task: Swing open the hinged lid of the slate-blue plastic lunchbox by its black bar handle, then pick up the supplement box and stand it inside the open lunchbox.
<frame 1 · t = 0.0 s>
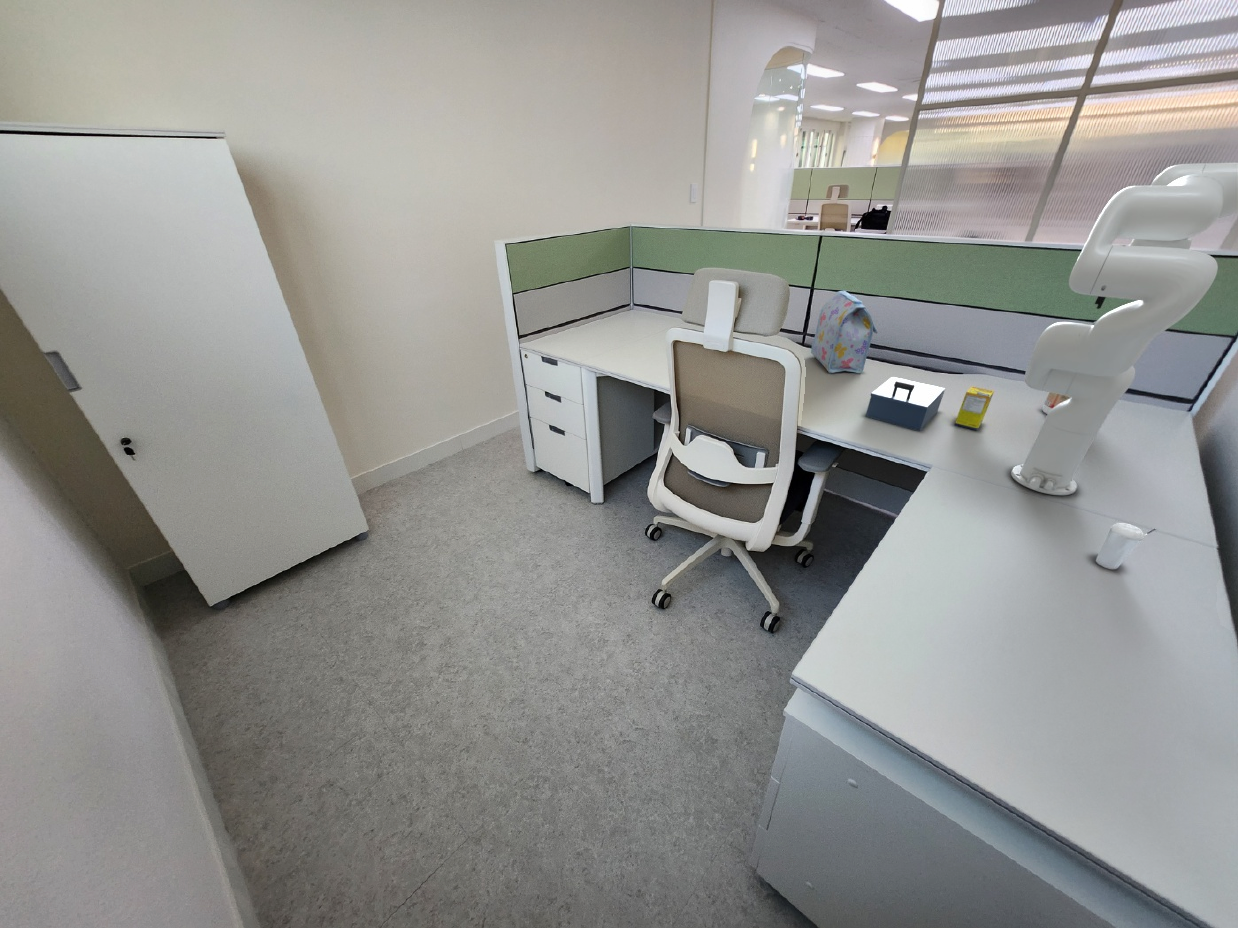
hand: (1125, 310, 113), 37 cm above the table, tool pointing down, fingers open, 9 cm apart
supplement box: (967, 425, 145), on the table
lunchbox lid: (910, 385, 146), point 10 cm above the table, hinge at 0.0°
lunchbox: (901, 414, 152), on the table
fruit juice: (1059, 414, 149), on the table
milkshake: (1108, 565, 93), on the table
lunch bag: (837, 365, 192), on the table
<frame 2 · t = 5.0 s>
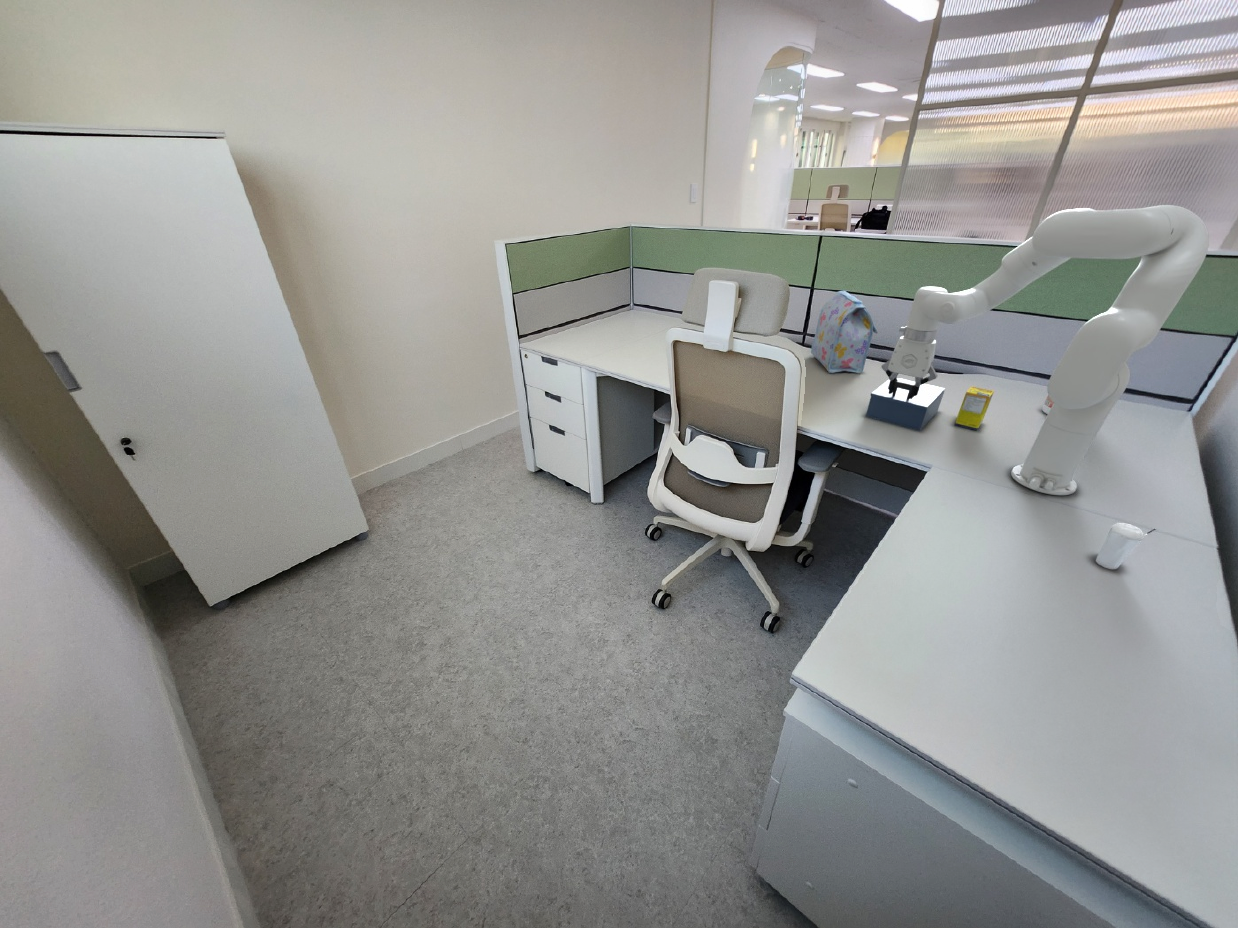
hand: (901, 394, 143), 9 cm above the table, tool pointing down, fingers closed on lunchbox lid, 5 cm apart
lunchbox lid: (910, 385, 146), point 10 cm above the table, hinge at 0.0°, touching gripper
everything else where it was.
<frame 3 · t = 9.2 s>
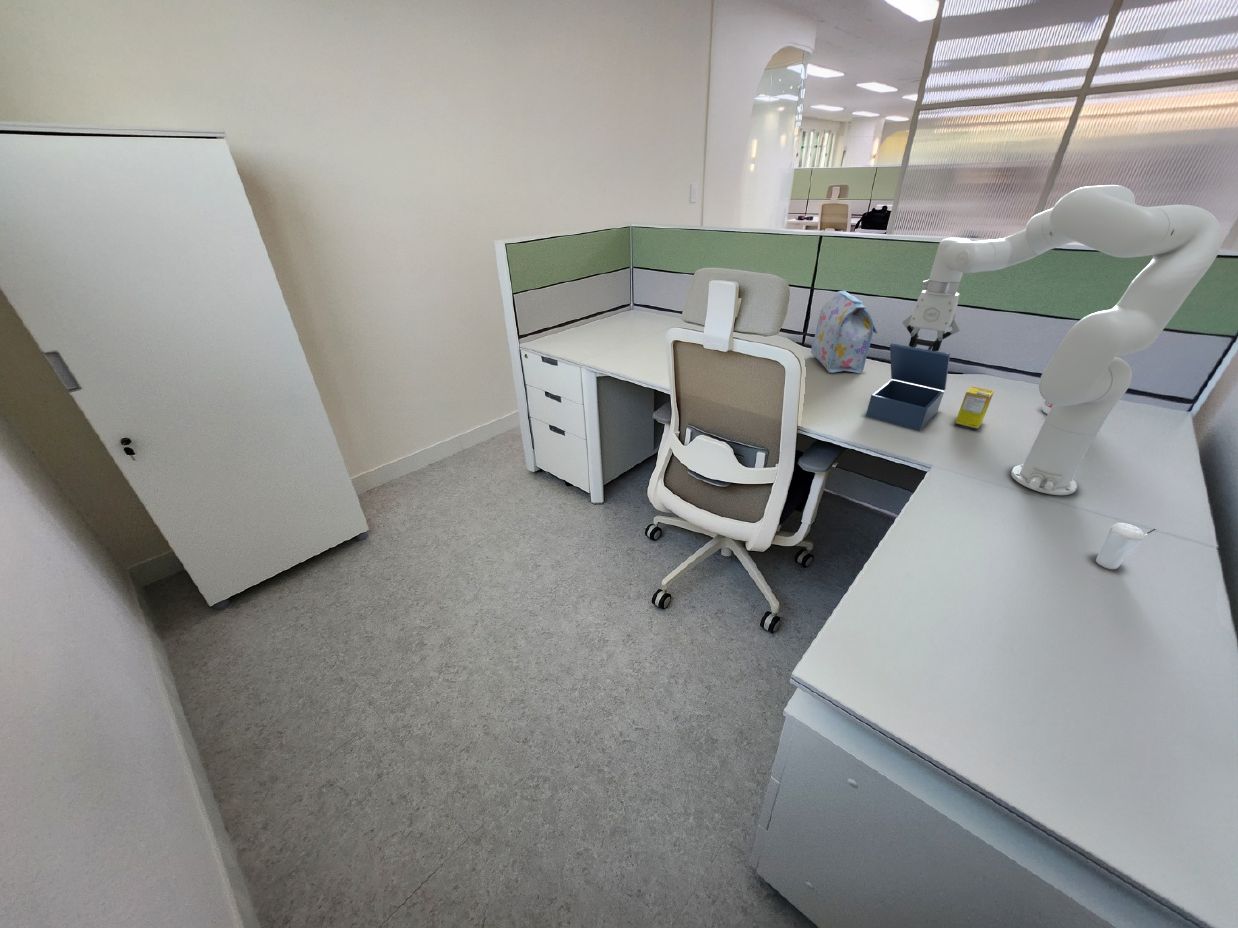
hand: (922, 350, 143), 20 cm above the table, tool pointing down, fingers closed on lunchbox lid, 5 cm apart
lunchbox lid: (921, 361, 146), point 16 cm above the table, hinge at 50.0°, touching gripper
everything else where it was.
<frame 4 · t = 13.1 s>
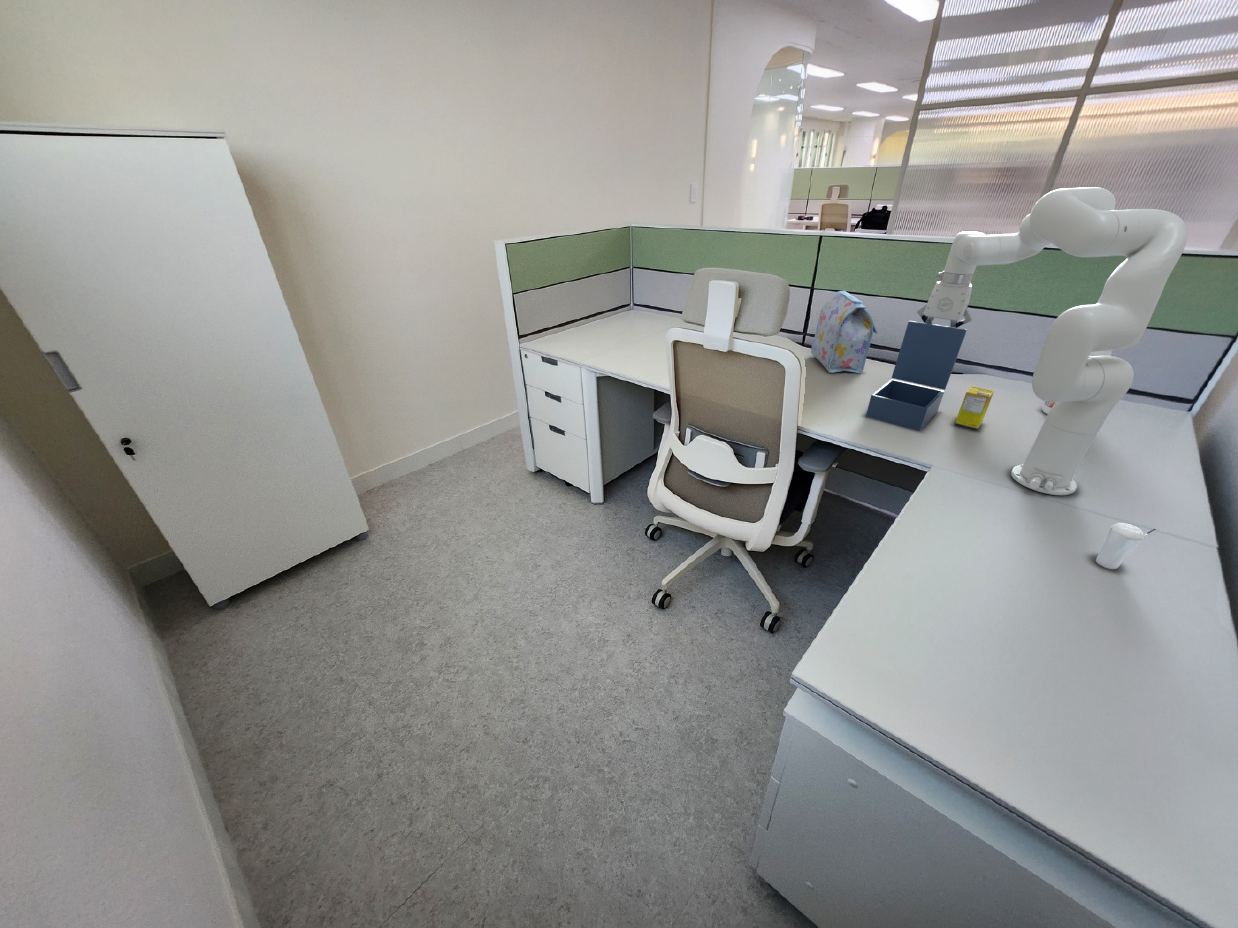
hand: (936, 338, 150), 21 cm above the table, tool pointing down, fingers closed on lunchbox lid, 5 cm apart
lunchbox lid: (929, 353, 150), point 17 cm above the table, hinge at 94.0°, touching gripper
everything else where it was.
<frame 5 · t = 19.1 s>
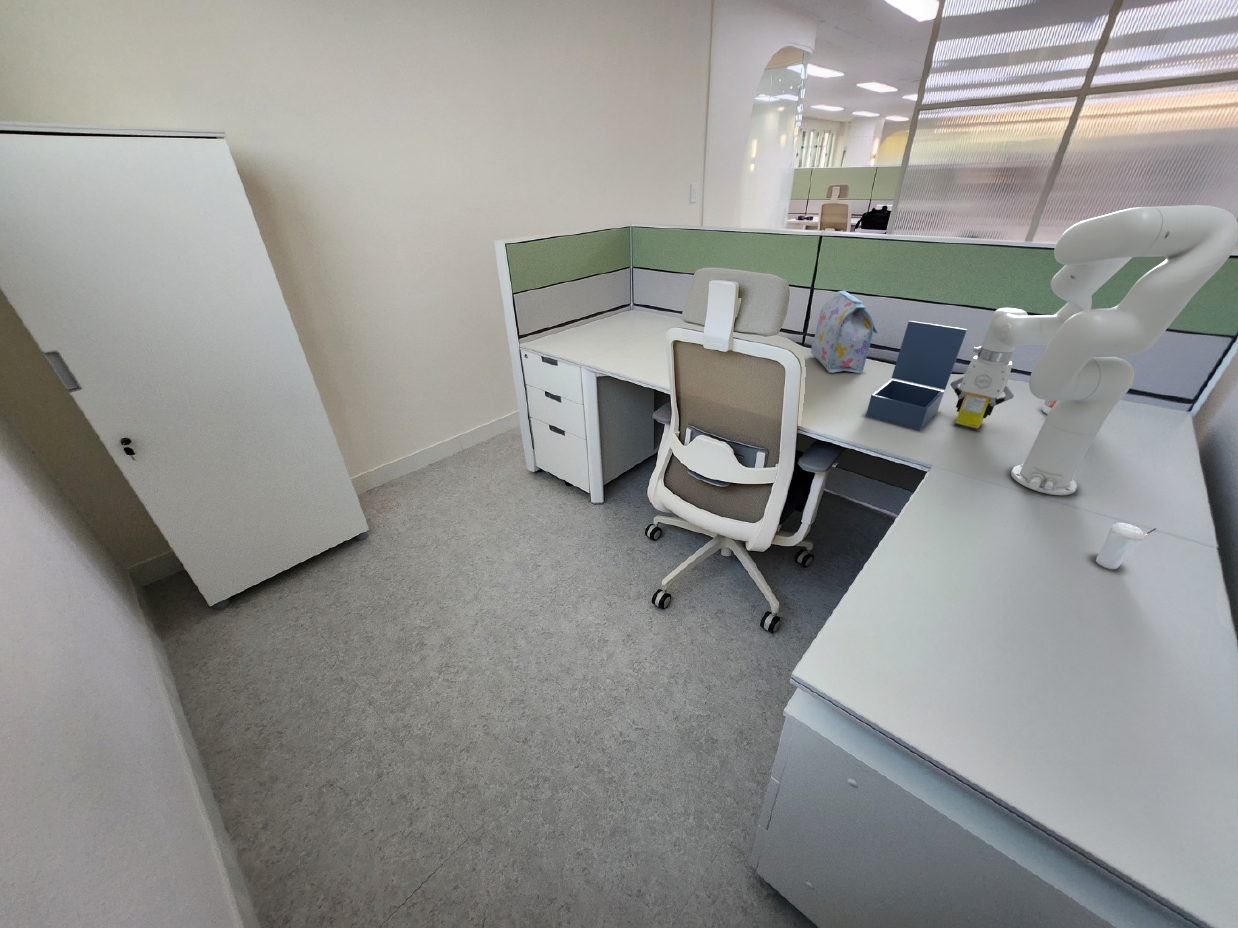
hand: (972, 413, 143), 4 cm above the table, tool pointing down, fingers closed on supplement box, 6 cm apart
supplement box: (967, 425, 145), on the table, touching gripper
lunchbox lid: (929, 353, 150), point 17 cm above the table, hinge at 94.1°
everything else where it was.
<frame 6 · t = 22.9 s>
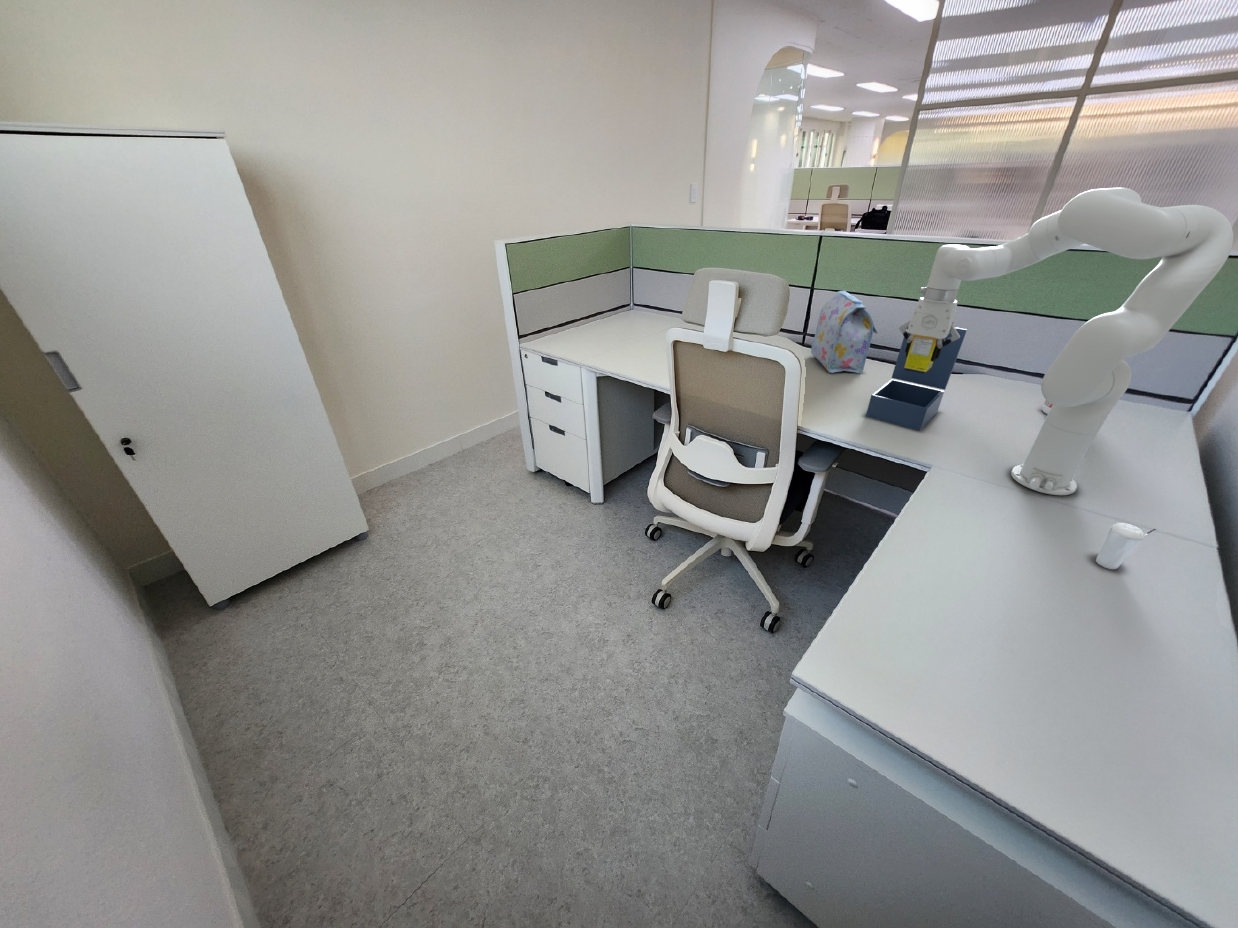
hand: (920, 357, 141), 19 cm above the table, tool pointing down, fingers closed on supplement box, 6 cm apart
supplement box: (916, 370, 143), point 15 cm above the table, touching gripper
everything else where it was.
when the fingers open (5 cm above the table, at t = 26.7 s): supplement box stays where it is, resting on lunchbox.
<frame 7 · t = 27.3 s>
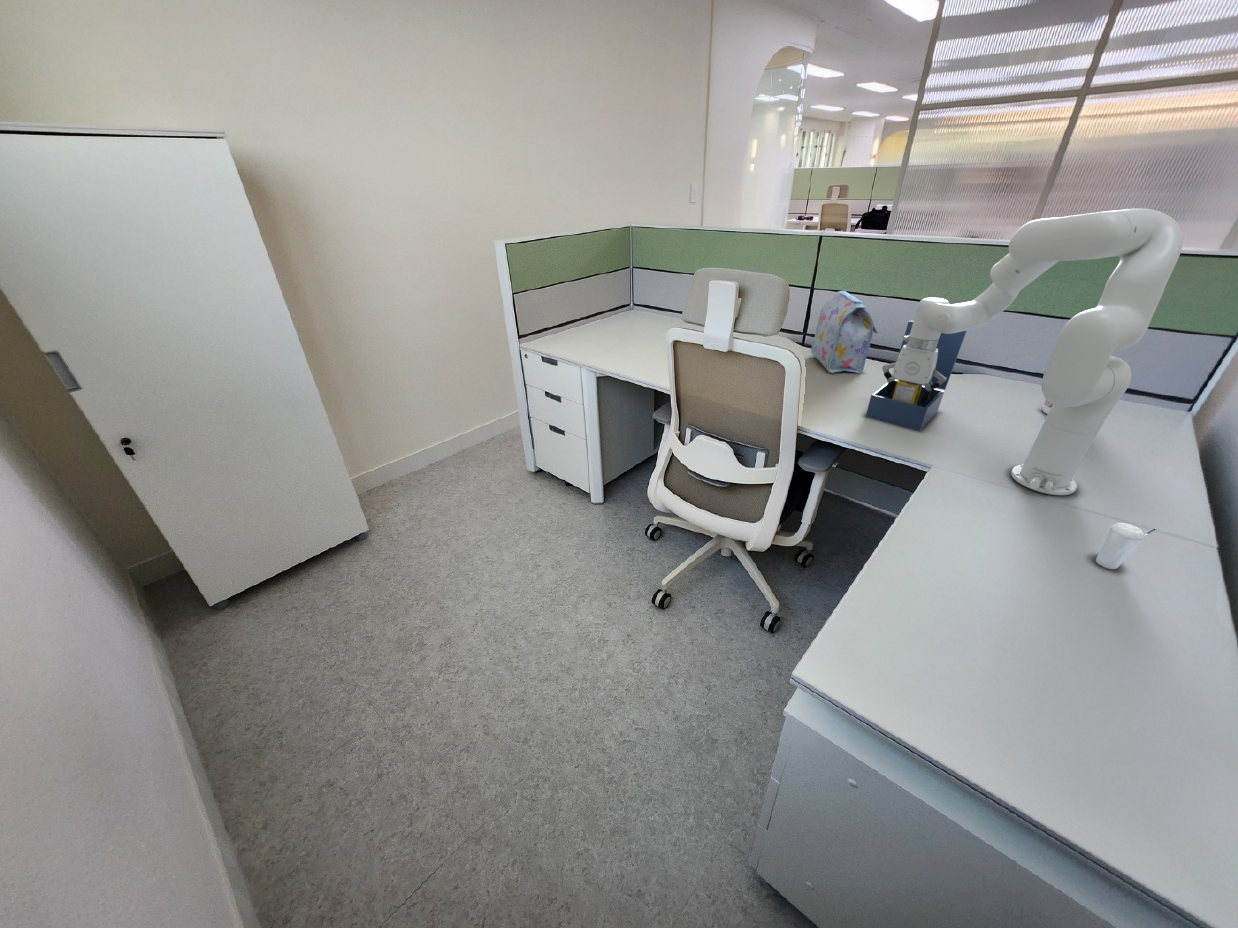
hand: (905, 397, 148), 6 cm above the table, tool pointing down, fingers open, 9 cm apart
supplement box: (900, 414, 151), point 1 cm above the table, touching lunchbox
everything else where it was.
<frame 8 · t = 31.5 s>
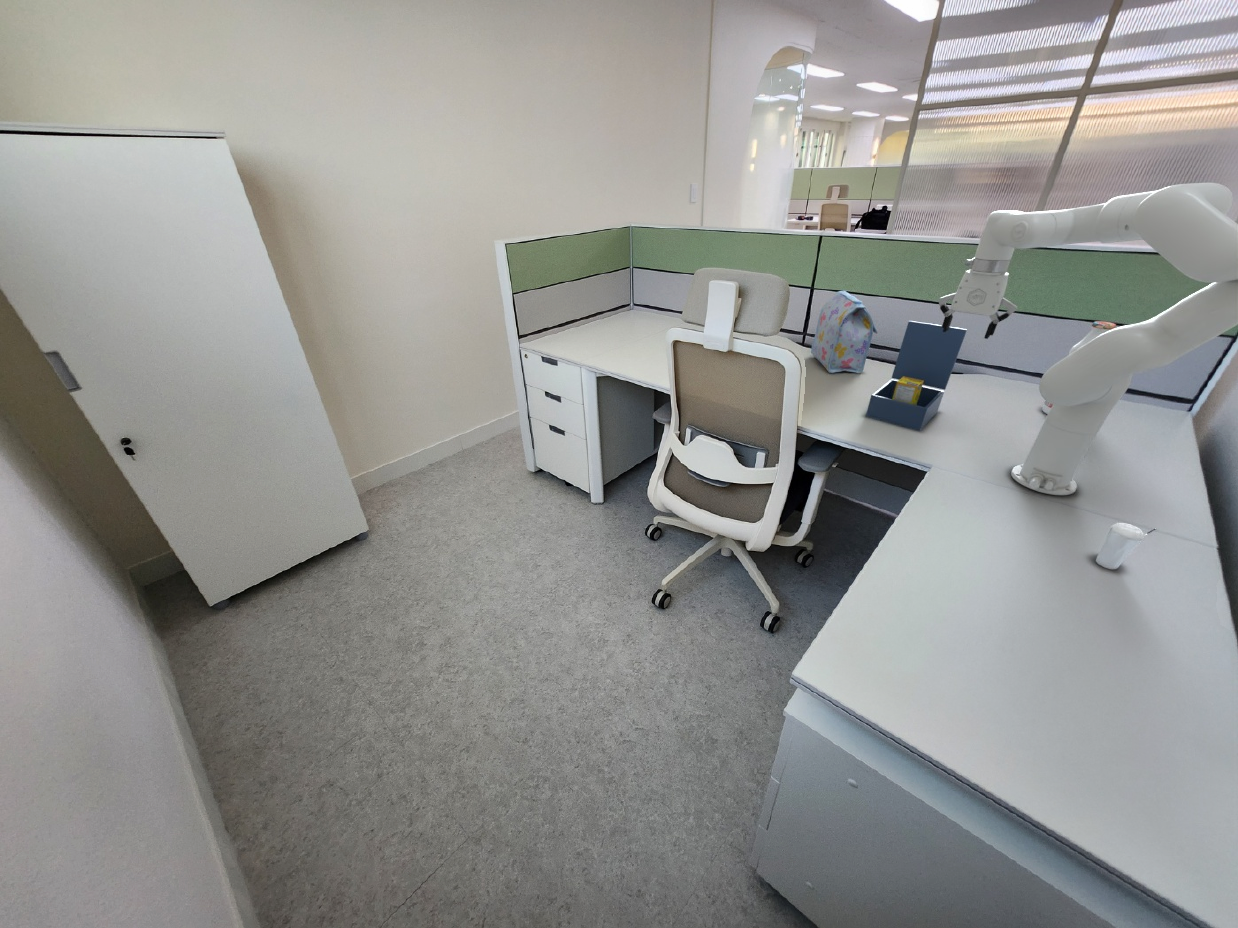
hand: (965, 334, 129), 28 cm above the table, tool pointing down, fingers open, 9 cm apart
nothing on the table moved.
at the end: lunchbox lid at +94° (first picture: +0°); supplement box inside the target area in the lunchbox (1.5 cm from its centre), point 0.6 cm above the lunchbox's base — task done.
